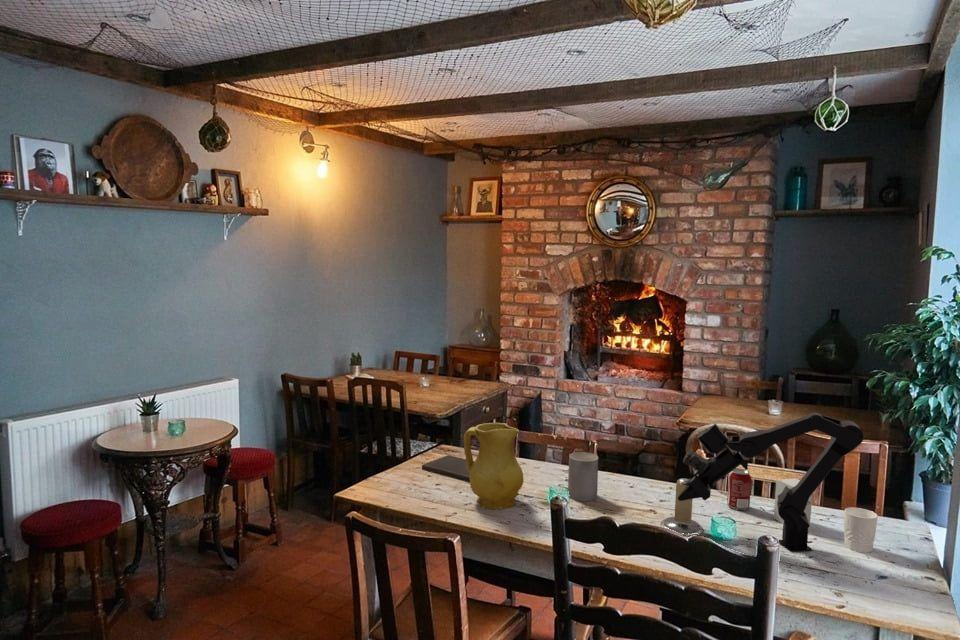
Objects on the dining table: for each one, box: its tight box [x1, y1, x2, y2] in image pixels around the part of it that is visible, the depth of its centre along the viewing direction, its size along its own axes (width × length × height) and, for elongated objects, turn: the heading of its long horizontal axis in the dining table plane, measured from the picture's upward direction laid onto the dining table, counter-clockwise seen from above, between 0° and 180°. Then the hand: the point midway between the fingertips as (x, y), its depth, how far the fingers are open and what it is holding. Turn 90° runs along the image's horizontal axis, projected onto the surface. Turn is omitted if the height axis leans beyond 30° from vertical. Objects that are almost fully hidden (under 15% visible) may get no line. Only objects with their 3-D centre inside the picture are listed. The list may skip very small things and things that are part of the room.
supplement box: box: [773, 478, 813, 526], centre depth 193 cm, size 7×7×13 cm
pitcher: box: [463, 422, 524, 510], centre depth 204 cm, size 17×19×25 cm
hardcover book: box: [421, 454, 475, 483], centre depth 234 cm, size 16×23×2 cm
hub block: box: [674, 478, 693, 523], centre depth 187 cm, size 4×4×12 cm
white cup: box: [843, 506, 879, 554], centre depth 176 cm, size 8×8×10 cm
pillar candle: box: [567, 451, 599, 502], centre depth 210 cm, size 10×10×15 cm
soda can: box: [726, 467, 752, 511], centre depth 204 cm, size 7×7×12 cm
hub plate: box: [659, 516, 704, 537], centre depth 187 cm, size 12×12×1 cm
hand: (679, 496), depth 187 cm, fingers closed on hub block, 4 cm apart
